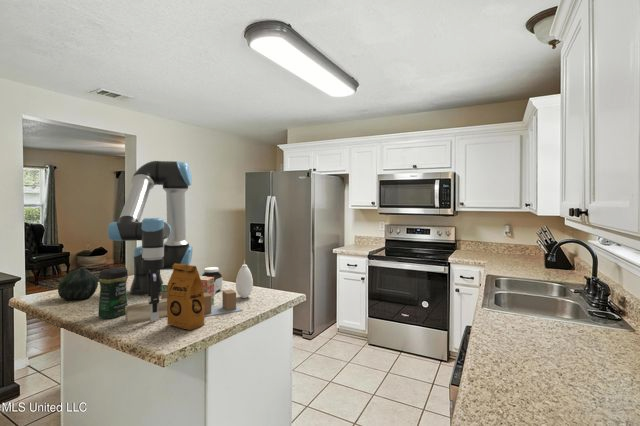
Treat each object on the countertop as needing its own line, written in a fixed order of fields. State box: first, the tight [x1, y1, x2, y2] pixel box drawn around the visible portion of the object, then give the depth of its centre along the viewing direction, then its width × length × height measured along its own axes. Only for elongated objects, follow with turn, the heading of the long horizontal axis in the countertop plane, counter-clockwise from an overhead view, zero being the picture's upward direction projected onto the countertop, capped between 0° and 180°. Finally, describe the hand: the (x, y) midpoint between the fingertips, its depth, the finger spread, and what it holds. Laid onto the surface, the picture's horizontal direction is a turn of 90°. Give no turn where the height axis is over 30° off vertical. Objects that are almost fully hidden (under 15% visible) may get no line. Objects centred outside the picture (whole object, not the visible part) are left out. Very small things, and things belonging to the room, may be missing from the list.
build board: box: [204, 289, 243, 318], centre depth 136 cm, size 10×18×7 cm, turn 121°
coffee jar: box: [97, 266, 129, 320], centre depth 129 cm, size 10×8×19 cm
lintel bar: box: [124, 298, 167, 325], centre depth 128 cm, size 4×18×6 cm, turn 134°
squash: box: [57, 267, 99, 301], centre depth 152 cm, size 14×15×15 cm
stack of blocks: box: [160, 275, 215, 307], centre depth 143 cm, size 21×6×12 cm, turn 81°
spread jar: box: [201, 266, 223, 294], centre depth 164 cm, size 12×11×12 cm
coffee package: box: [166, 264, 205, 331], centre depth 119 cm, size 10×12×22 cm
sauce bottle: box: [235, 259, 254, 299], centre depth 155 cm, size 8×8×18 cm
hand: (153, 316), depth 128 cm, fingers open, 9 cm apart
